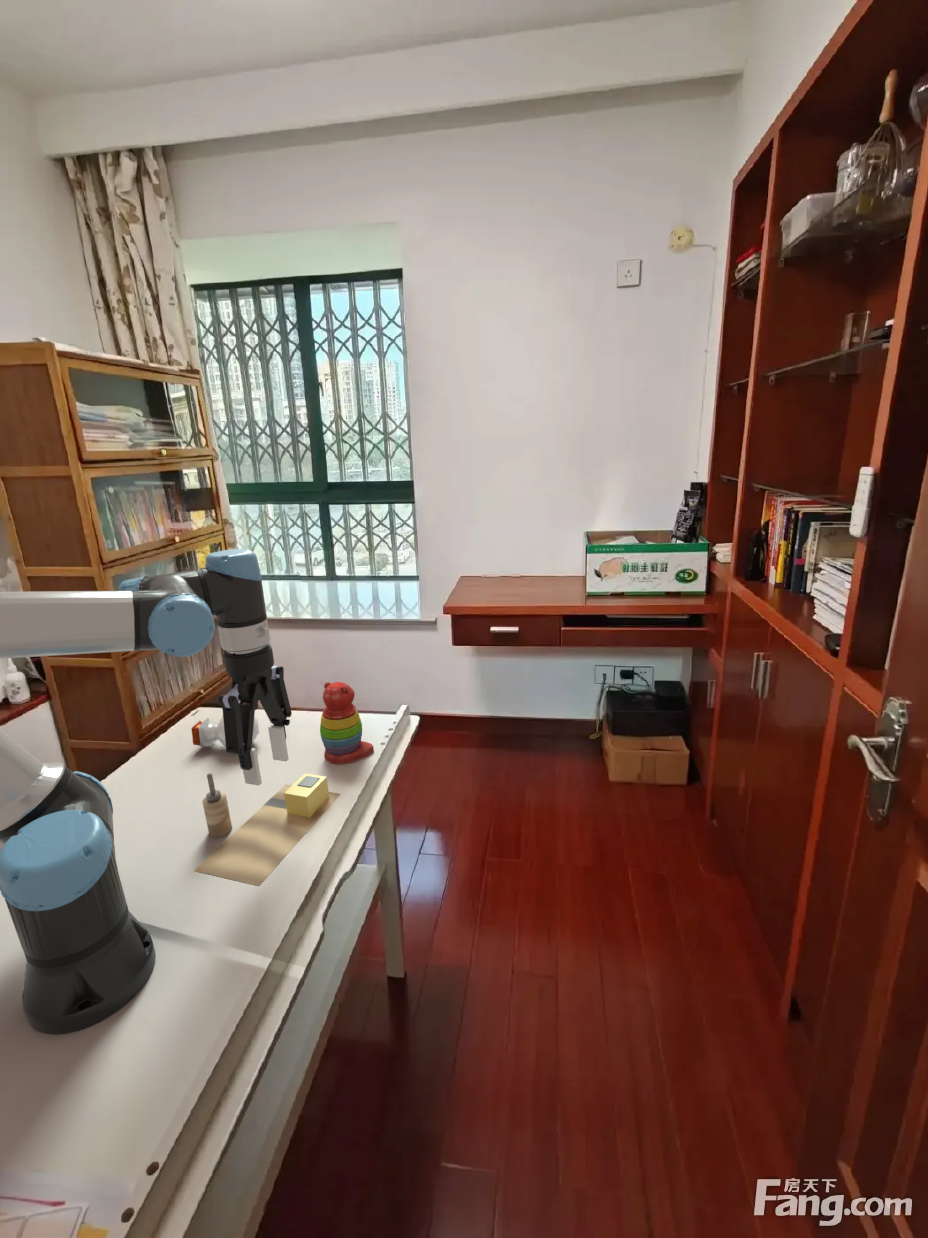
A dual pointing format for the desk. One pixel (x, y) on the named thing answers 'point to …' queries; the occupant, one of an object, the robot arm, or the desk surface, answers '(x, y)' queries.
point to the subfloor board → (261, 841)
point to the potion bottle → (214, 732)
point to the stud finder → (306, 795)
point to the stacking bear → (342, 726)
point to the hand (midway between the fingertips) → (267, 770)
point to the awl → (216, 811)
